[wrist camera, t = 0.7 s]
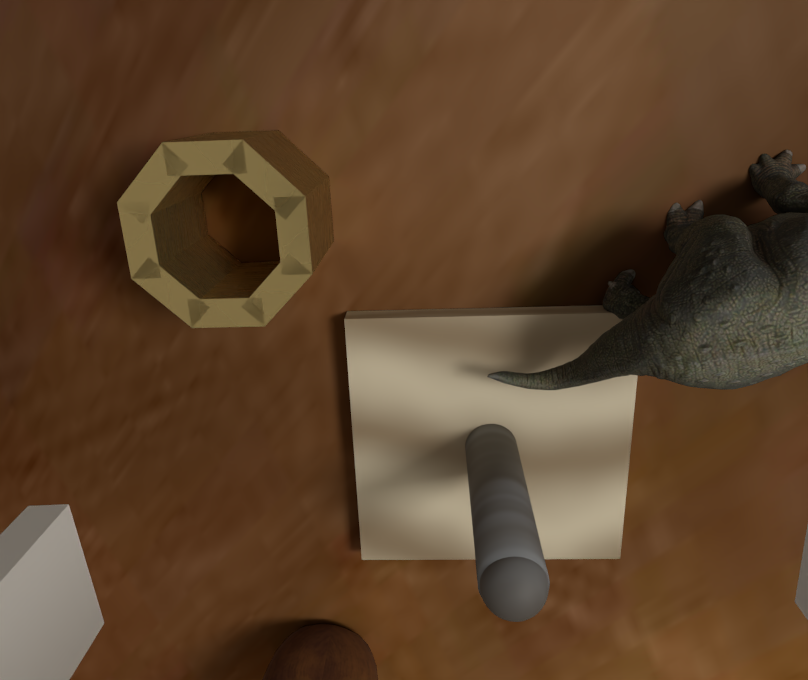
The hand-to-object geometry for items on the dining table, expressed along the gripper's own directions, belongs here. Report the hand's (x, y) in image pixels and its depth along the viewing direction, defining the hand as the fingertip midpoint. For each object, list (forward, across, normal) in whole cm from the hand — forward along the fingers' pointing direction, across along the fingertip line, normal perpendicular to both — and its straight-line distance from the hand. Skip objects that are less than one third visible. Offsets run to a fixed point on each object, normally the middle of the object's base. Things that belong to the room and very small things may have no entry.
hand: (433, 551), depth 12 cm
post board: (+21, +2, -9) cm, 23 cm away
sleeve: (+21, -8, +3) cm, 23 cm away
